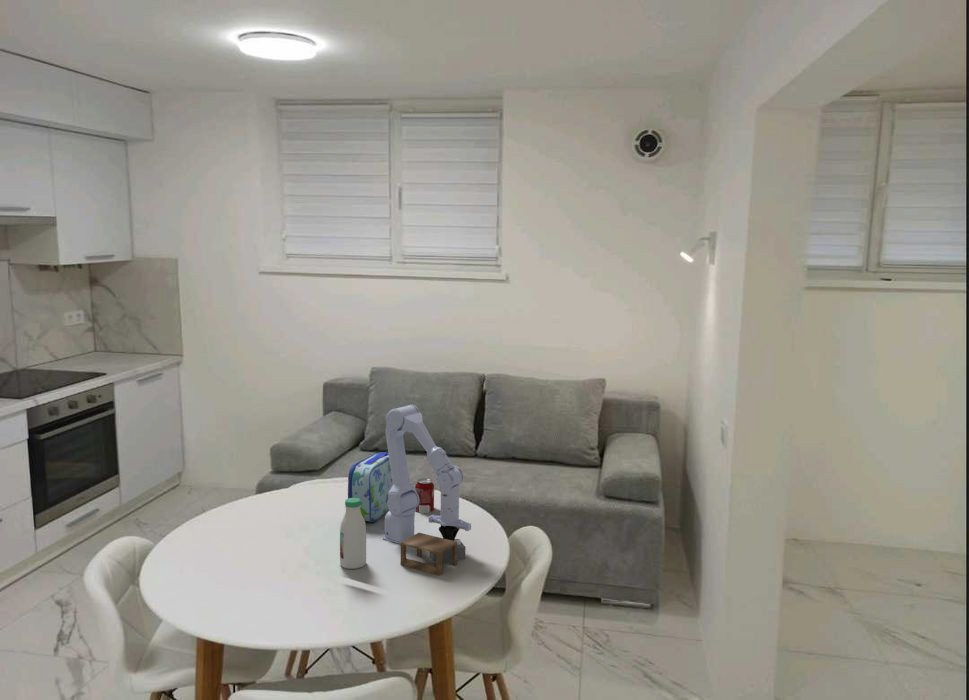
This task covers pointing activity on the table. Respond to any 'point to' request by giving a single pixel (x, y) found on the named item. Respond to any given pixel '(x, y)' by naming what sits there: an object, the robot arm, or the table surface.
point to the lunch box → (371, 485)
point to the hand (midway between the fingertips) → (449, 548)
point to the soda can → (425, 495)
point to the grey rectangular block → (448, 553)
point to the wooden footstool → (429, 545)
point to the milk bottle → (353, 536)
